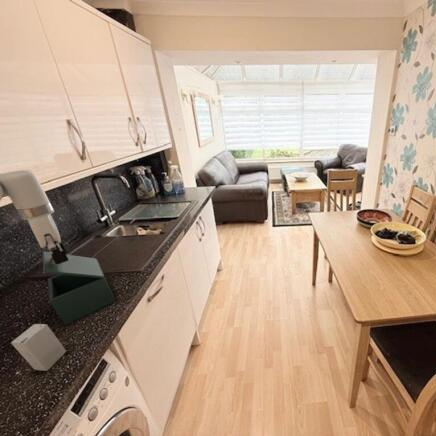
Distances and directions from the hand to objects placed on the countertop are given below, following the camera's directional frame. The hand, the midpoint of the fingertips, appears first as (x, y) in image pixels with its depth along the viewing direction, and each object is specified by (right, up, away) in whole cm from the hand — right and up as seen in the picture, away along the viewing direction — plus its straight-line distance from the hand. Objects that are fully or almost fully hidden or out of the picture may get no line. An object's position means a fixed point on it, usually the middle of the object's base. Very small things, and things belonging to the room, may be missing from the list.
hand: (61, 258), depth 82 cm
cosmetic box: (+10, -28, -13) cm, 32 cm away
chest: (+2, -18, +9) cm, 20 cm away
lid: (+1, -3, +3) cm, 4 cm away
